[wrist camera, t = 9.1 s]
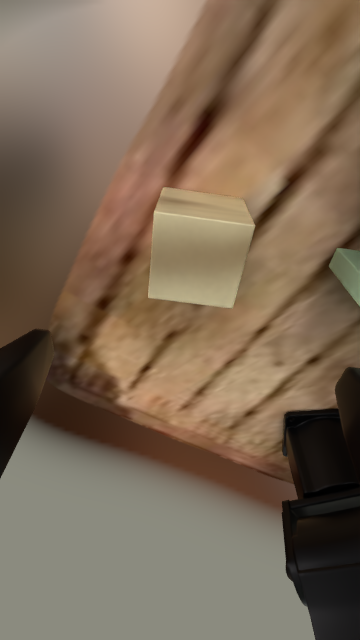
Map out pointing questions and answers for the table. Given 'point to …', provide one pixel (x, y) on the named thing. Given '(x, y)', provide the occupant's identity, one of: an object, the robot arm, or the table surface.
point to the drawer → (347, 270)
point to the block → (199, 247)
